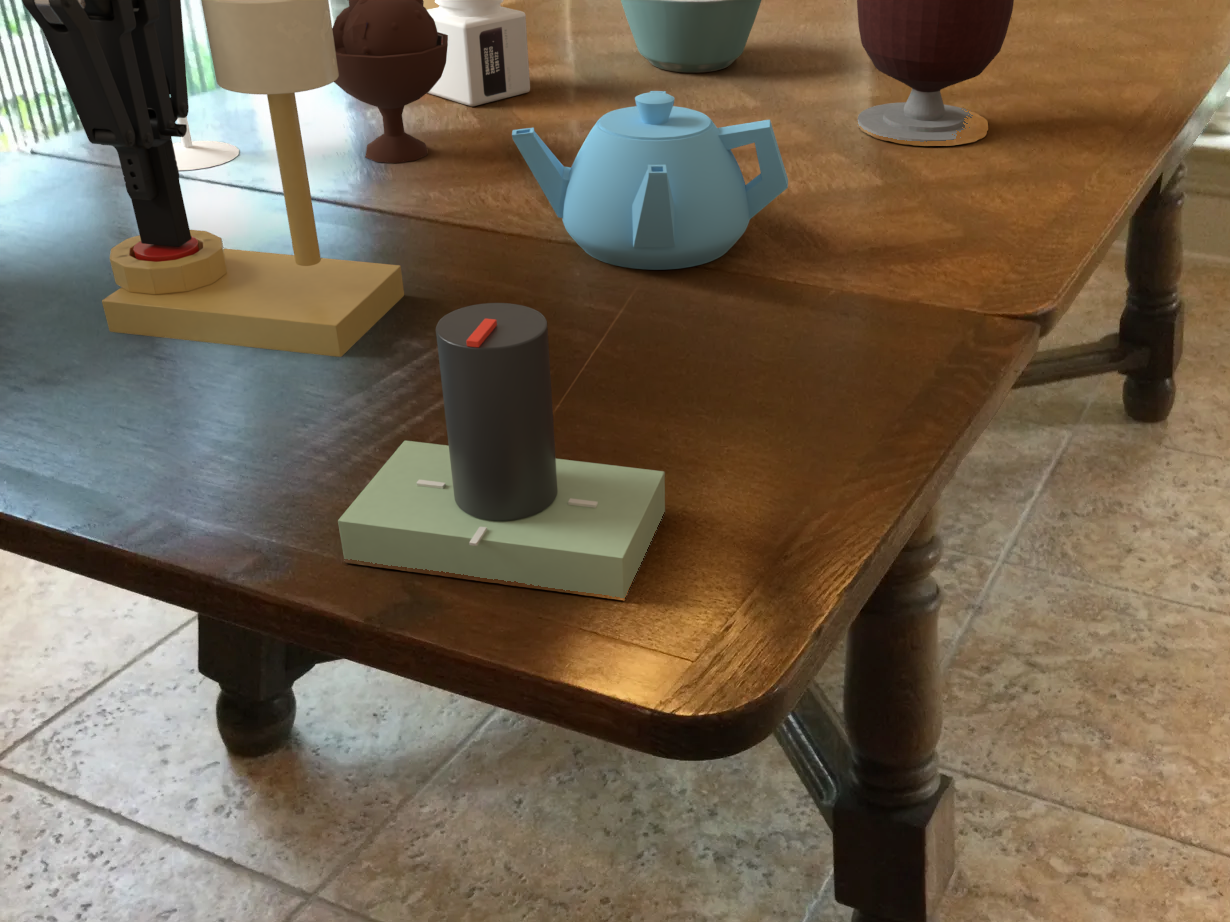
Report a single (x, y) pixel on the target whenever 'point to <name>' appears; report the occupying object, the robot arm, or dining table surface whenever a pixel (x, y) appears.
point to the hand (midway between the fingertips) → (166, 240)
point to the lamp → (278, 83)
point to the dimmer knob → (498, 409)
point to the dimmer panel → (508, 525)
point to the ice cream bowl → (389, 66)
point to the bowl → (691, 32)
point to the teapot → (657, 184)
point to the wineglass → (201, 151)
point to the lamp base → (249, 298)
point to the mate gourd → (928, 59)
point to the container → (481, 51)
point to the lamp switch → (165, 251)
